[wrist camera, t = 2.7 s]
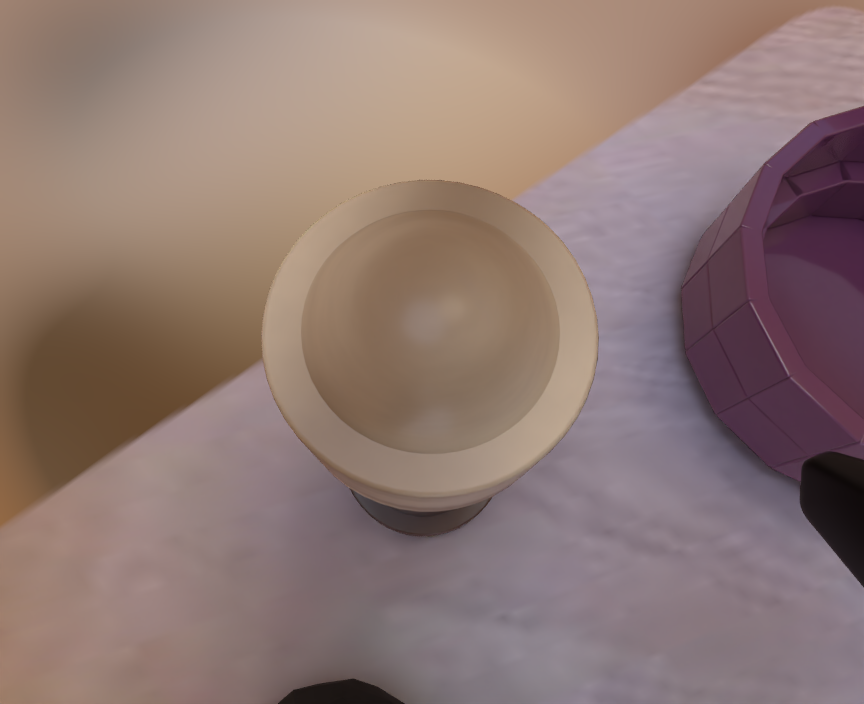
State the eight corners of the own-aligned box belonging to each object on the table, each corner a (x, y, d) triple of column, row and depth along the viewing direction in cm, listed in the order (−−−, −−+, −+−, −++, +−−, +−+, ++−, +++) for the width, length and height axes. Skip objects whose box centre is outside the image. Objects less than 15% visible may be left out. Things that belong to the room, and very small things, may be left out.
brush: (525, 421, 21) (678, 214, 9) (460, 565, 19) (534, 562, 7) (389, 356, 21) (352, 77, 9) (317, 491, 20) (161, 375, 8)
